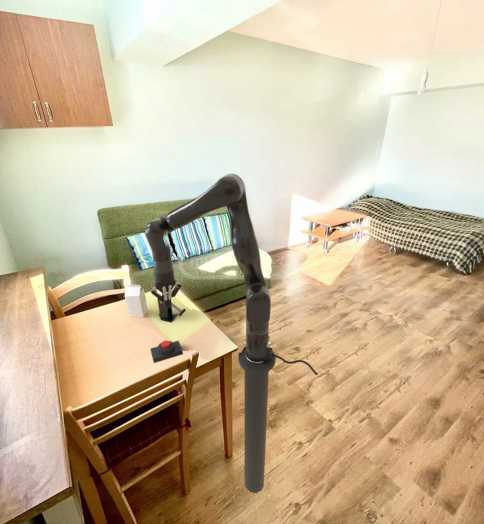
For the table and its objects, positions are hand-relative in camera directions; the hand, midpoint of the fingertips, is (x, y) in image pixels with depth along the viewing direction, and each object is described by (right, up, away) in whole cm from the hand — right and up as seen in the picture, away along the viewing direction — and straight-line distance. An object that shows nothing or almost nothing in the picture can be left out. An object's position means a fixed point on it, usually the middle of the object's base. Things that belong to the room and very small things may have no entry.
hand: (168, 306), depth 116 cm
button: (-1, -17, -1) cm, 17 cm away
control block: (-1, -20, 0) cm, 20 cm away
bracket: (-7, -10, +25) cm, 27 cm away
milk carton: (-21, -9, +26) cm, 35 cm away
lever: (-4, -3, +21) cm, 21 cm away
